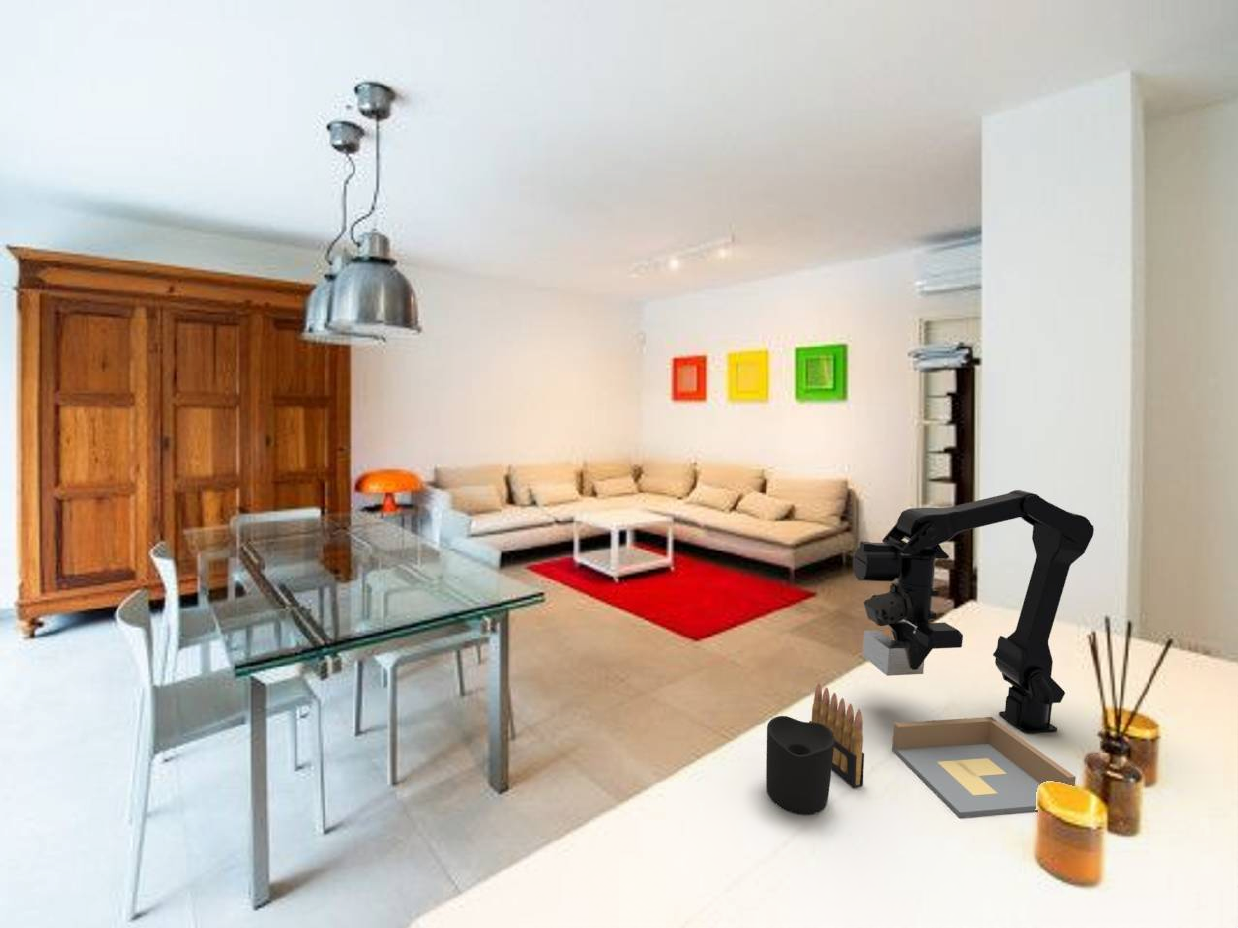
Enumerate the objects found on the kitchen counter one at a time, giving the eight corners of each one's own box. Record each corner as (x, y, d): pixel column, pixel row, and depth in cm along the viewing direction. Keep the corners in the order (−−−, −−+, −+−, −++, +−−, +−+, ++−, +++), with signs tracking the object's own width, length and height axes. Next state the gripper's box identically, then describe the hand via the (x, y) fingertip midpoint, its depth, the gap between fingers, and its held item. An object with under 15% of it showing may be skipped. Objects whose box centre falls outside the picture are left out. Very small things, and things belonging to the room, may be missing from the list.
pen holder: (795, 826, 81) (799, 758, 80) (750, 785, 89) (753, 723, 88) (844, 805, 85) (849, 740, 84) (797, 768, 93) (800, 709, 92)
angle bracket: (896, 654, 113) (898, 629, 113) (923, 673, 105) (925, 647, 105) (862, 655, 112) (864, 630, 112) (886, 675, 104) (889, 648, 104)
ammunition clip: (863, 785, 90) (868, 711, 88) (853, 788, 89) (859, 713, 88) (815, 746, 99) (819, 678, 98) (806, 748, 99) (810, 680, 97)
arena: (988, 743, 101) (991, 716, 101) (1072, 807, 86) (1075, 776, 85) (891, 749, 99) (894, 722, 98) (959, 817, 83) (962, 785, 83)
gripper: (845, 566, 113) (840, 644, 115) (905, 600, 94) (898, 693, 96) (899, 565, 114) (893, 642, 116) (969, 598, 96) (960, 689, 98)
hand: (908, 664), depth 106 cm, fingers closed on angle bracket, 3 cm apart
